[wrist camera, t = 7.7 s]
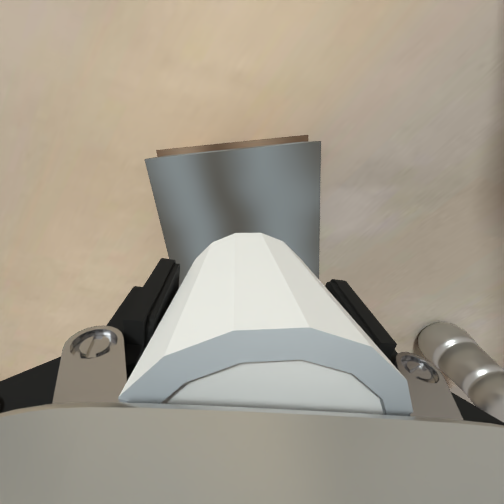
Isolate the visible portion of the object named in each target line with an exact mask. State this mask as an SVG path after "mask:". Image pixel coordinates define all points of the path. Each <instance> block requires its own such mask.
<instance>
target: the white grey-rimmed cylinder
mask: <svg viewBox="0 0 504 504" xmlns="http://www.w3.org/2000/svg"><path fill="white" fill-rule="evenodd" d="M118 399H122V400H126V401H129V403H157V404H182V405H204V406H225V407H247V408H267V409H287V410H306V411H325V412H344V413H361V414H378V415H395V416H408V415H409V413H411V412H413V408H412V403H411V398H410V393H409V388H408V383H407V380H406V378H405V377H404V376H403V375H402V374H401V373H400V372H399V370H398V369H397V368H396V367H395V366H394V365H393V364H392V363H391V361H390V360H389V359H388V358H387V357H386V356H385V355H384V353H383V352H382V351H381V350H380V349H379V348H378V347H377V345H376V344H375V343H374V342H373V341H372V340H371V339H370V337H369V336H368V335H367V334H366V333H365V332H364V331H363V329H362V328H361V327H360V326H359V325H358V324H357V323H356V321H355V320H354V319H353V318H352V317H351V316H350V315H349V313H348V312H347V311H346V310H345V309H344V308H343V307H342V305H341V304H340V303H339V302H338V301H337V300H336V299H335V298H334V296H333V295H332V294H331V293H330V292H329V291H328V290H327V288H326V287H325V286H324V285H323V284H322V283H321V282H320V280H319V279H318V278H317V277H316V276H315V275H314V274H313V272H312V271H311V270H310V269H309V268H308V267H307V266H306V264H305V263H304V262H303V261H302V260H301V259H300V258H299V257H298V256H297V255H296V254H295V253H294V252H293V251H292V250H291V249H290V248H289V247H288V246H287V245H286V244H285V243H284V242H283V241H281V240H278V239H276V238H273V237H271V236H268V235H265V234H263V233H234V234H232V235H229V236H227V237H224V238H222V239H219V240H217V241H215V242H212V243H211V244H210V245H209V246H208V247H207V248H206V249H205V250H204V251H203V252H202V253H201V254H200V255H199V256H198V257H197V258H196V259H195V261H194V262H193V264H192V266H191V268H190V270H189V271H188V273H187V275H186V277H185V279H184V280H183V282H182V284H181V286H180V287H179V289H178V291H177V293H176V295H175V296H174V298H173V300H172V302H171V304H170V305H169V307H168V309H167V311H166V313H165V314H164V316H163V318H162V320H161V322H160V323H159V325H158V327H157V329H156V331H155V332H154V334H153V336H152V338H151V339H150V341H149V343H148V345H147V347H146V348H145V350H144V352H143V354H142V356H141V357H140V359H139V361H138V363H137V365H136V366H135V368H134V370H133V372H132V374H131V375H130V377H129V379H128V381H127V383H126V384H125V386H124V388H123V390H122V392H121V393H120V395H119V397H118Z"/></svg>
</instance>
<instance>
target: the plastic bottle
mask: <svg viewBox="0 0 504 504" xmlns="http://www.w3.org/2000/svg"><path fill="white" fill-rule="evenodd" d="M418 345H419V348H420V350H421V352H422V353H423V355H424V356H425V358H426V359H427V360H428V361H430V362H431V363H432V364H433V365H434V366H435V367H437V368H438V369H439V370H441V371H442V372H443V373H444V374H445V375H447V376H448V377H449V378H450V379H451V380H452V381H453V382H454V383H455V384H456V385H457V386H458V387H459V388H460V389H461V390H462V391H463V392H464V393H465V394H466V395H467V396H468V397H469V398H470V399H471V401H472V402H473V403H474V405H475V406H476V407H478V408H480V409H481V410H483V411H485V412H486V413H488V414H490V415H492V416H493V417H495V418H497V419H499V420H500V421H502V422H504V369H503V368H502V367H501V366H499V365H498V364H497V363H496V362H495V361H494V360H493V359H492V358H491V357H490V356H489V355H488V354H487V353H486V352H485V351H484V350H483V349H482V348H480V347H479V345H478V344H477V343H476V342H475V340H474V339H473V338H472V337H471V336H470V335H469V334H468V333H467V332H466V331H464V330H463V329H461V328H460V327H458V326H456V325H454V324H452V323H446V322H437V323H433V324H431V325H429V326H427V327H426V328H425V329H423V330H422V332H421V333H420V335H419V337H418Z"/></svg>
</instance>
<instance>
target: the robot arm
mask: <svg viewBox="0 0 504 504" xmlns="http://www.w3.org/2000/svg"><path fill="white" fill-rule="evenodd" d="M179 276H180V264H176V261H175V260H172V259H164V258H161V259H160V261H159V263H158V264H157V266H156V267H155V269H154V271H153V272H152V274H151V275H150V277H149V278H148V280H147V282H146V283H145V285H144V286H143V287H137V286H135V287H133V288H132V290H131V291H130V293H129V294H128V296H127V297H126V298H125V300H124V301H123V303H122V304H121V306H120V307H119V308H118V310H117V311H116V313H115V314H114V316H113V317H112V319H111V320H110V321H109V323H108V324H107V326H94V327H90V328H86V329H84V330H81V331H79V332H77V333H76V334H74V335H73V336H71V337H70V338H69V339H68V340H67V341H66V342H65V345H64V347H63V350H62V355H61V357H59V358H56V359H54V360H51V361H49V362H47V363H44V364H42V365H39V366H37V367H34V368H32V369H29V370H27V371H25V372H22V373H20V374H17V375H15V376H12V377H10V378H8V379H5V380H3V381H0V504H504V422H502V421H500V420H499V419H497V418H495V417H493V416H492V415H490V414H488V413H486V412H485V411H483V410H481V409H480V408H478V407H476V406H474V405H473V404H471V403H469V402H467V401H466V400H464V399H462V398H460V397H459V396H457V395H455V394H453V393H452V392H450V389H449V387H448V385H447V383H446V381H445V378H444V377H443V375H442V373H441V372H440V371H439V370H438V369H437V368H436V367H435V366H434V365H433V364H432V363H430V362H429V361H428V360H426V359H424V358H422V357H420V356H418V355H416V354H413V353H409V352H400V353H397V352H396V351H395V347H396V345H397V344H396V343H395V341H394V340H393V339H392V338H391V336H390V335H389V334H388V333H387V331H386V330H385V329H384V328H383V326H382V325H381V324H380V323H379V322H378V320H377V319H376V318H375V317H374V315H373V314H372V313H371V312H370V310H369V309H368V308H367V307H366V305H365V304H364V303H363V302H362V301H361V299H360V298H359V297H358V296H357V294H356V293H355V292H354V291H353V289H352V288H351V287H350V286H349V284H348V283H347V282H346V281H343V280H335V279H332V280H331V281H330V282H327V283H326V286H325V287H326V288H327V290H328V291H329V292H330V293H331V294H332V295H333V296H334V298H335V299H336V300H337V301H338V302H339V303H340V304H341V305H342V307H343V308H344V309H345V310H346V311H347V312H348V313H349V315H350V316H351V317H352V318H353V319H354V320H355V321H356V323H357V324H358V325H359V326H360V327H361V328H362V329H363V331H364V332H365V333H366V334H367V335H368V336H369V337H370V339H371V340H372V341H373V342H374V343H375V344H376V345H377V347H378V348H379V349H380V350H381V351H382V352H383V353H384V355H385V356H386V357H387V358H388V359H389V360H390V361H391V363H392V364H393V365H394V366H395V367H396V368H397V369H398V370H399V372H400V373H401V374H402V375H403V376H404V377H405V378H406V380H407V383H408V388H409V393H410V398H411V403H412V408H413V412H411V413H409V415H408V416H395V415H378V414H361V413H344V412H325V411H306V410H287V409H267V408H247V407H225V406H204V405H182V404H157V403H129V401H126V400H122V399H118V397H119V395H120V393H121V392H122V390H123V388H124V386H125V384H126V383H127V381H128V379H129V377H130V375H131V374H132V372H133V370H134V368H135V366H136V365H137V363H138V361H139V359H140V357H141V356H142V354H143V352H144V350H145V348H146V347H147V345H148V343H149V341H150V339H151V338H152V336H153V334H154V332H155V331H156V329H157V327H158V325H159V323H160V322H161V320H162V318H163V316H164V314H165V313H166V311H167V309H168V307H169V305H170V304H171V302H172V300H173V298H174V296H175V295H176V293H177V291H178V289H179Z"/></svg>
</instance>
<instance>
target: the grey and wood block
mask: <svg viewBox="0 0 504 504" xmlns="http://www.w3.org/2000/svg"><path fill="white" fill-rule="evenodd" d="M156 151H157V156H158V157H155V158H149V159H145V163H146V167H147V171H148V175H149V179H150V183H151V187H152V191H153V195H154V199H155V203H156V207H157V211H158V215H159V219H160V223H161V227H162V231H163V235H164V239H165V243H166V248H167V252H168V256H169V259H172V260H175V261H176V264H180V276H179V287H180V286H181V284H182V282H183V280H184V279H185V277H186V275H187V273H188V271H189V270H190V268H191V266H192V264H193V262H194V261H195V259H196V258H197V257H198V256H199V255H200V254H201V253H202V252H203V251H204V250H205V249H206V248H207V247H208V246H209V245H210V244H211V243H212V242H215V241H217V240H219V239H222V238H224V237H227V236H229V235H232V234H234V233H263V234H265V235H268V236H271V237H273V238H276V239H278V240H281V241H283V242H284V243H285V244H286V245H287V246H288V247H289V248H290V249H291V250H292V251H293V252H294V253H295V254H296V255H297V256H298V257H299V258H300V259H301V260H302V261H303V262H304V263H305V264H306V266H307V267H308V268H309V269H310V270H311V271H312V272H313V274H314V275H315V276H316V277H317V278H318V279H319V235H320V168H321V141H313V142H308V135H302V136H292V137H282V138H272V139H262V140H252V141H243V142H233V143H223V144H213V145H203V146H193V147H183V148H174V149H164V150H156Z"/></svg>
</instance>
